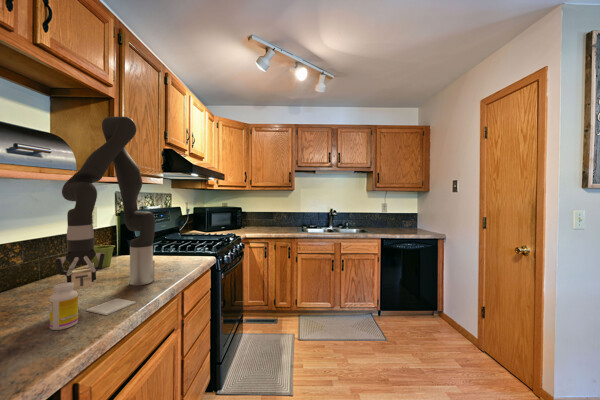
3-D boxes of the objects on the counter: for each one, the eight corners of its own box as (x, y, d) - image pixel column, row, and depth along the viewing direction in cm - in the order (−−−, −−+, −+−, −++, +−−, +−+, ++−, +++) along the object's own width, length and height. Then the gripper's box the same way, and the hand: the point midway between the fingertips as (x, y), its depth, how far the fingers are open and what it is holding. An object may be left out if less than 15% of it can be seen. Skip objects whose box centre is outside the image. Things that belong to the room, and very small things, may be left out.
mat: (116, 299, 104) (116, 298, 104) (135, 303, 101) (135, 301, 101) (86, 310, 94) (86, 309, 94) (106, 315, 90) (106, 313, 90)
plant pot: (120, 264, 157) (120, 245, 157) (103, 269, 145) (103, 249, 145) (101, 263, 158) (101, 244, 158) (83, 269, 146) (83, 248, 146)
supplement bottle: (83, 320, 87) (83, 281, 86) (66, 330, 80) (66, 288, 80) (62, 320, 86) (62, 281, 86) (43, 331, 80) (43, 288, 80)
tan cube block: (72, 285, 97) (72, 270, 97) (91, 282, 101) (91, 268, 101) (71, 290, 93) (71, 274, 93) (91, 286, 96) (91, 271, 96)
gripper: (104, 233, 104) (105, 276, 104) (54, 237, 95) (56, 284, 95) (105, 236, 98) (106, 282, 98) (52, 241, 89) (54, 291, 89)
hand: (81, 283), depth 97 cm, fingers closed on tan cube block, 5 cm apart
